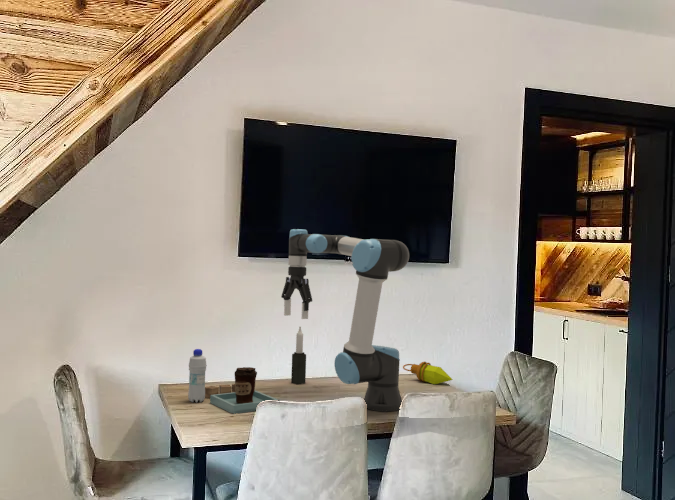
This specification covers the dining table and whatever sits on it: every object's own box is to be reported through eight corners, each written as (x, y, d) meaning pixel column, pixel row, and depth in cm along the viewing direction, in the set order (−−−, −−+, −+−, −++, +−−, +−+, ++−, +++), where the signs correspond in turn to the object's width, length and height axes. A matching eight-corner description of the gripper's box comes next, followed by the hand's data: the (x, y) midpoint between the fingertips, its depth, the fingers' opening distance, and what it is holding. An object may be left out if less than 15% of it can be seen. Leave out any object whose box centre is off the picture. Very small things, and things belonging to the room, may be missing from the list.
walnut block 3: (245, 394, 272) (245, 384, 272) (237, 395, 269) (238, 385, 269) (239, 392, 275) (239, 382, 275) (231, 394, 272) (231, 384, 272)
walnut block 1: (218, 397, 266) (218, 387, 266) (211, 399, 262) (212, 388, 262) (210, 395, 268) (211, 385, 268) (203, 397, 264) (204, 387, 264)
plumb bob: (456, 385, 306) (407, 371, 319) (457, 366, 304) (408, 353, 317) (448, 392, 299) (398, 378, 312) (449, 374, 296) (399, 360, 310)
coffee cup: (251, 406, 248) (252, 371, 248) (230, 404, 250) (231, 369, 250) (258, 401, 257) (259, 367, 256) (238, 399, 258) (239, 365, 258)
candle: (306, 383, 297) (308, 326, 297) (298, 384, 293) (299, 327, 293) (298, 381, 301) (300, 325, 300) (290, 382, 297) (291, 326, 297)
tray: (279, 407, 251) (279, 399, 251) (233, 414, 240) (233, 405, 240) (254, 397, 267) (254, 390, 267) (210, 402, 255) (210, 395, 255)
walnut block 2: (231, 396, 267) (231, 386, 267) (221, 397, 266) (221, 387, 266) (228, 394, 271) (229, 384, 271) (219, 395, 270) (219, 385, 270)
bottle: (196, 404, 253) (198, 351, 253) (183, 401, 256) (185, 349, 256) (209, 400, 258) (210, 348, 258) (196, 398, 262) (197, 347, 262)
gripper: (321, 267, 273) (320, 320, 273) (289, 265, 293) (287, 313, 293) (306, 267, 269) (304, 320, 269) (274, 264, 289) (272, 314, 289)
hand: (295, 317), depth 281 cm, fingers open, 13 cm apart
